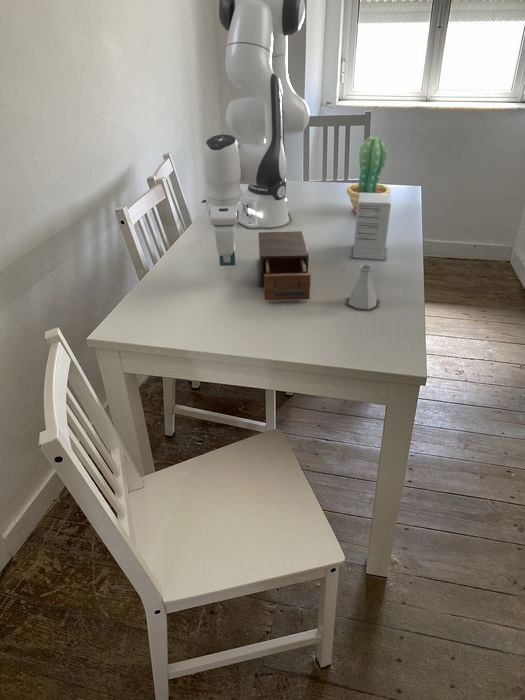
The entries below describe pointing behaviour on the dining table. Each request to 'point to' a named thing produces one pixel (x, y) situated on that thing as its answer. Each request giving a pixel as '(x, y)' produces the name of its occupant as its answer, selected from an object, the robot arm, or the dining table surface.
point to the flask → (363, 290)
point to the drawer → (286, 279)
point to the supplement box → (371, 225)
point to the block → (232, 262)
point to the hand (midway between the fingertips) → (227, 256)
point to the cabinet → (281, 248)
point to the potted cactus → (369, 170)
